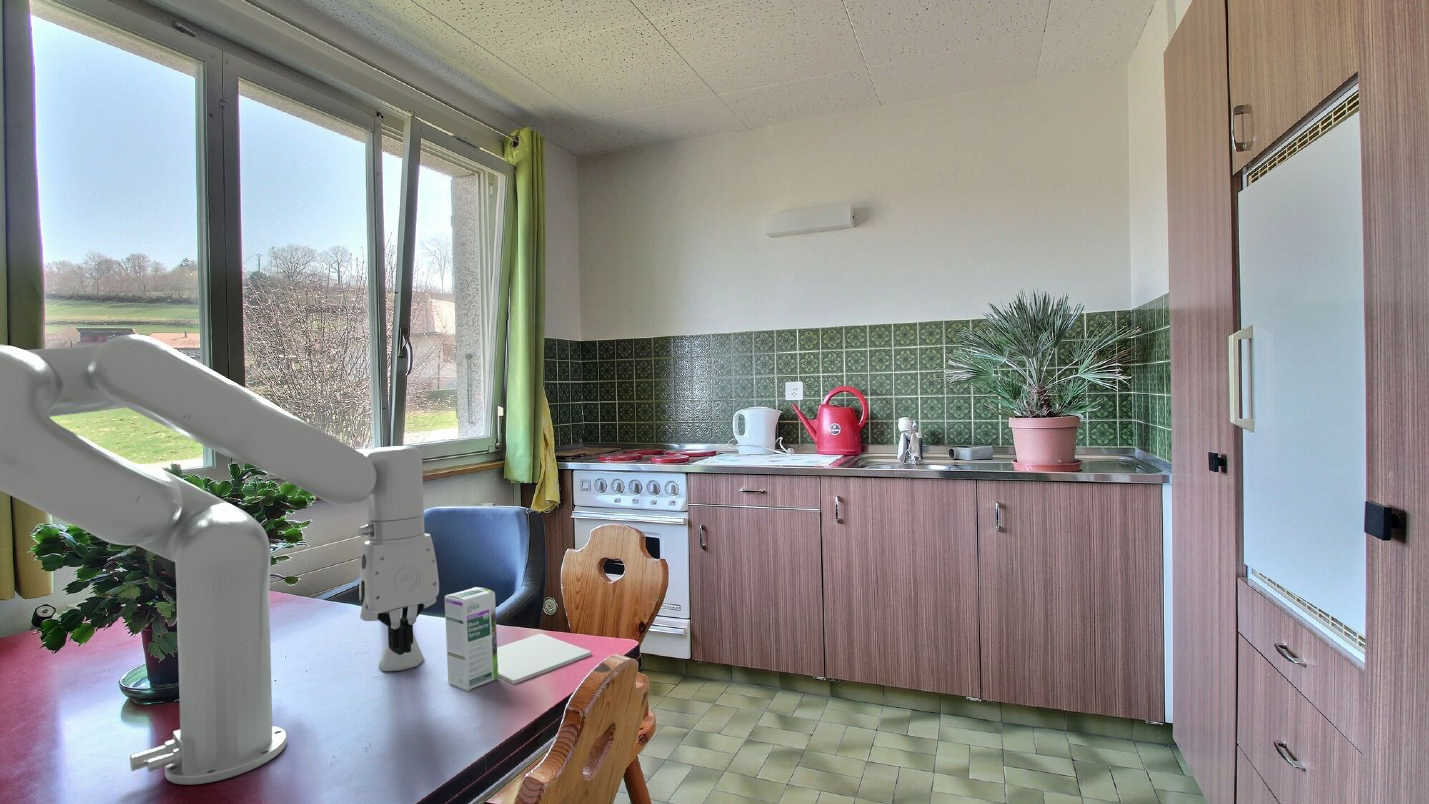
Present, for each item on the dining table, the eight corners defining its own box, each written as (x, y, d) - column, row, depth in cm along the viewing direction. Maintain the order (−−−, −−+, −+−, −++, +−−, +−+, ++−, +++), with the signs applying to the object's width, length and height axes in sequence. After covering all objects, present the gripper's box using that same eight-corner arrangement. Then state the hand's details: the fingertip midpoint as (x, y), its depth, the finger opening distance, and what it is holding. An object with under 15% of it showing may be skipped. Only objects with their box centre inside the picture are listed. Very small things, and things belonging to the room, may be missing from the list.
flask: (423, 668, 113) (422, 610, 113) (376, 675, 110) (374, 616, 110) (425, 654, 120) (423, 599, 120) (380, 660, 117) (379, 604, 117)
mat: (513, 684, 105) (513, 680, 105) (465, 661, 115) (465, 658, 115) (591, 654, 117) (591, 651, 117) (541, 636, 127) (540, 633, 127)
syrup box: (467, 692, 103) (464, 599, 103) (446, 683, 106) (444, 593, 106) (498, 679, 107) (496, 590, 107) (477, 671, 111) (475, 585, 111)
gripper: (353, 541, 90) (357, 674, 90) (456, 523, 101) (461, 642, 102) (333, 535, 95) (337, 661, 95) (434, 518, 106) (438, 632, 106)
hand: (401, 651), depth 98 cm, fingers closed
